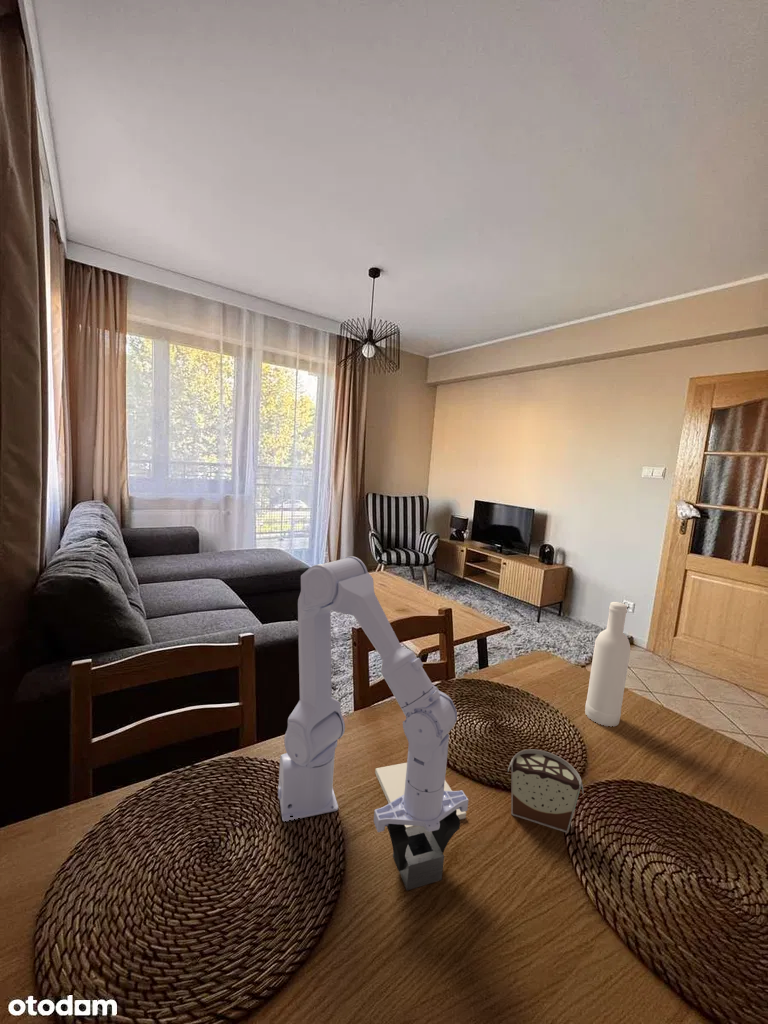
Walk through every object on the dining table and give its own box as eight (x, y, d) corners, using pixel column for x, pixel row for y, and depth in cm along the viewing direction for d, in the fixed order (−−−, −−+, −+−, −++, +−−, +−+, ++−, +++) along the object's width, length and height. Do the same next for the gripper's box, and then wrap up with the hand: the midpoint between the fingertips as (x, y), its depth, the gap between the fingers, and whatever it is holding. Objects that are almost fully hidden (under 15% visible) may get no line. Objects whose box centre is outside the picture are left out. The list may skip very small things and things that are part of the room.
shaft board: (401, 833, 70) (404, 803, 69) (375, 773, 83) (377, 747, 82) (465, 818, 74) (468, 789, 74) (430, 762, 87) (433, 737, 87)
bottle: (587, 704, 113) (603, 596, 110) (621, 716, 109) (638, 604, 105) (581, 718, 107) (598, 603, 103) (616, 731, 102) (635, 612, 99)
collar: (406, 890, 61) (408, 865, 60) (392, 855, 66) (394, 832, 66) (441, 880, 63) (444, 856, 62) (425, 846, 68) (427, 824, 68)
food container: (574, 809, 78) (581, 759, 77) (577, 836, 72) (585, 782, 71) (504, 787, 82) (510, 739, 81) (502, 812, 76) (508, 760, 75)
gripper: (388, 809, 56) (380, 898, 58) (482, 788, 61) (473, 871, 63) (372, 771, 63) (365, 852, 65) (458, 755, 68) (450, 831, 70)
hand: (417, 859), depth 64 cm, fingers closed on collar, 6 cm apart
